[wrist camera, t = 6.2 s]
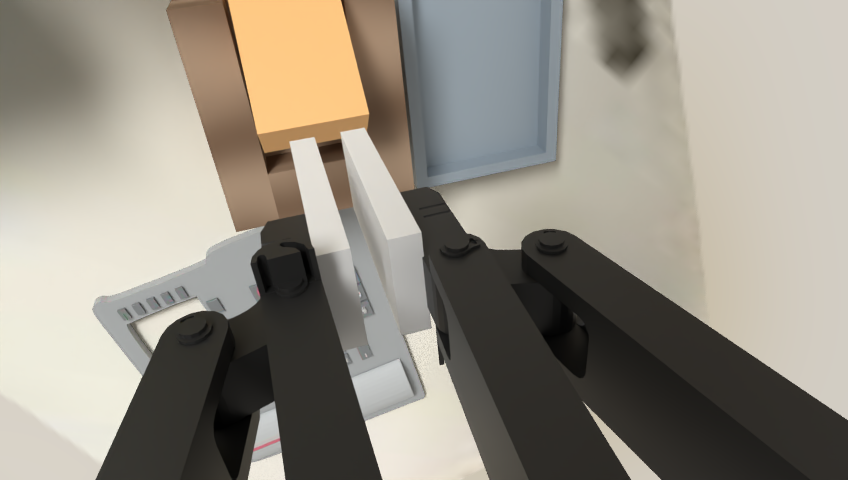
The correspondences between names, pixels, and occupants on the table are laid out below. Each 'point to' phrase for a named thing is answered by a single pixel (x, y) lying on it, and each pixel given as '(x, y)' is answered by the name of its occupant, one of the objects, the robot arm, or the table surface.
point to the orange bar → (298, 70)
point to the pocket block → (234, 123)
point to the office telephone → (237, 292)
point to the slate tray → (479, 85)
